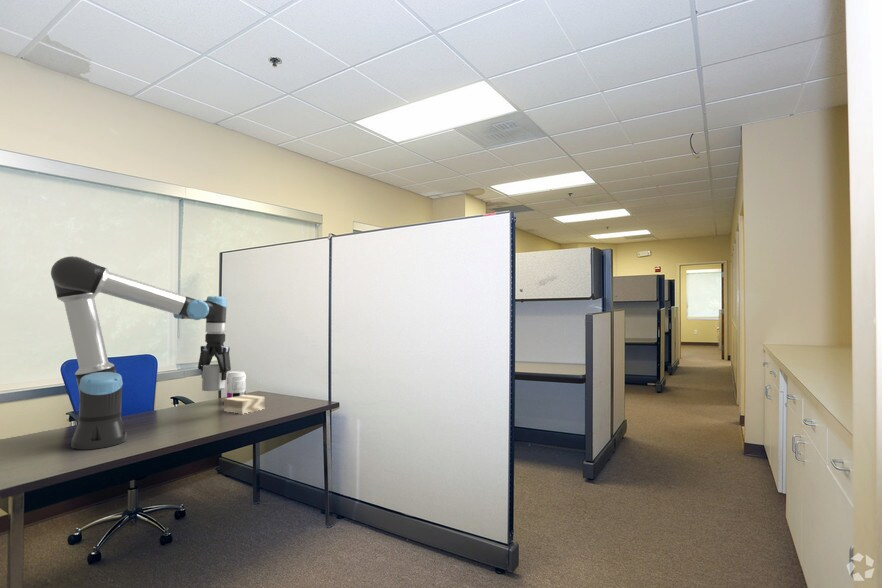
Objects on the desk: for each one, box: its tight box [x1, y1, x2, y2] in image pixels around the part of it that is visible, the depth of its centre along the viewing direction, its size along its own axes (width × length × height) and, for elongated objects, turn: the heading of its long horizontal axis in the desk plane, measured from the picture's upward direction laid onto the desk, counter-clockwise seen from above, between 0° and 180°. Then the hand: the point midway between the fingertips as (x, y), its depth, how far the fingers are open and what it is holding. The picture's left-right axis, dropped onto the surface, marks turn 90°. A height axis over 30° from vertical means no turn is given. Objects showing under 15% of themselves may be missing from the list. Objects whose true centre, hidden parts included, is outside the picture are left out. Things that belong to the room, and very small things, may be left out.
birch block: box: [223, 393, 266, 415], centre depth 205 cm, size 12×12×6 cm
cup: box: [201, 363, 225, 392], centre depth 190 cm, size 8×8×10 cm
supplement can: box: [226, 370, 247, 398], centre depth 221 cm, size 8×8×15 cm
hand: (213, 387), depth 190 cm, fingers closed on cup, 8 cm apart
